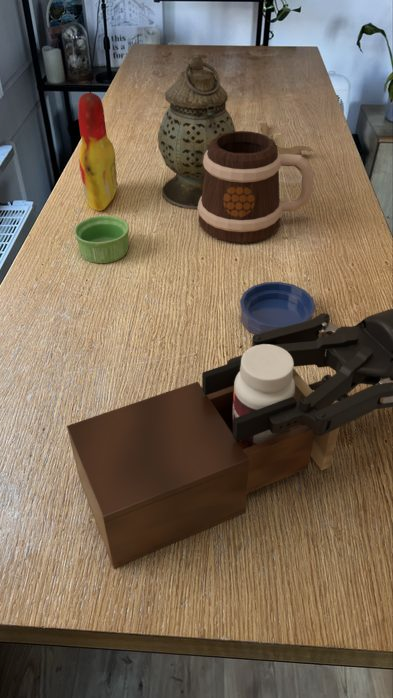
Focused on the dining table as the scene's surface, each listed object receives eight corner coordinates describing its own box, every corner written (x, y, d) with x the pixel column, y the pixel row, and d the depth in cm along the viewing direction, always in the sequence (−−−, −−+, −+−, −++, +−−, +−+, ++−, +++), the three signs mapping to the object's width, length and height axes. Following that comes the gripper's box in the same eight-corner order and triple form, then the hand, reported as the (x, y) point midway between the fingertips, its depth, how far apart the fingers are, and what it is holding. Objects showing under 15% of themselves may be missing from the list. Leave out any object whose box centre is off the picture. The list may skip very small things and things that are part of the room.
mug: (196, 245, 101) (195, 162, 91) (198, 203, 112) (198, 124, 102) (313, 246, 100) (325, 162, 90) (303, 204, 111) (313, 124, 101)
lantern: (235, 178, 120) (240, 44, 103) (231, 212, 109) (236, 69, 92) (166, 175, 121) (160, 42, 104) (156, 209, 110) (148, 67, 93)
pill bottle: (224, 420, 66) (227, 346, 59) (275, 409, 67) (285, 335, 60) (241, 463, 62) (247, 388, 54) (296, 451, 63) (309, 376, 55)
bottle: (111, 216, 108) (99, 106, 95) (78, 215, 109) (60, 105, 95) (123, 187, 117) (112, 82, 104) (91, 186, 118) (77, 81, 104)
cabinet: (198, 435, 70) (197, 381, 64) (245, 512, 62) (249, 459, 56) (79, 479, 65) (66, 425, 59) (113, 568, 57) (102, 517, 51)
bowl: (327, 328, 84) (329, 314, 82) (262, 349, 81) (263, 335, 79) (288, 288, 91) (289, 275, 89) (227, 307, 88) (227, 293, 86)
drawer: (315, 391, 74) (323, 348, 69) (366, 451, 66) (379, 407, 62) (180, 441, 68) (179, 397, 63) (221, 512, 61) (223, 469, 56)
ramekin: (142, 250, 100) (140, 227, 97) (101, 272, 95) (98, 249, 92) (107, 231, 104) (104, 209, 101) (67, 252, 99) (62, 229, 97)
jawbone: (278, 169, 123) (278, 160, 122) (230, 136, 137) (230, 127, 136) (314, 157, 126) (314, 148, 124) (264, 126, 140) (263, 117, 138)
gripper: (358, 267, 69) (178, 321, 62) (479, 369, 56) (270, 452, 49) (347, 317, 74) (180, 372, 67) (456, 421, 61) (264, 503, 54)
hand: (219, 406), depth 58 cm, fingers closed on pill bottle, 6 cm apart
